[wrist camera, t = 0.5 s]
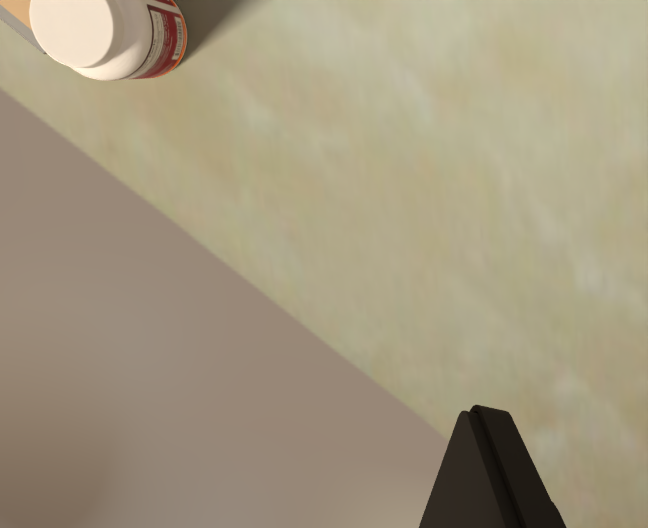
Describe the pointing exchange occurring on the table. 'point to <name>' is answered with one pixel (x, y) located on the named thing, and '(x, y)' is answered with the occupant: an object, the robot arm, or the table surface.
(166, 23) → the pill bottle
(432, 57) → the table surface
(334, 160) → the table surface
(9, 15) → the stand
